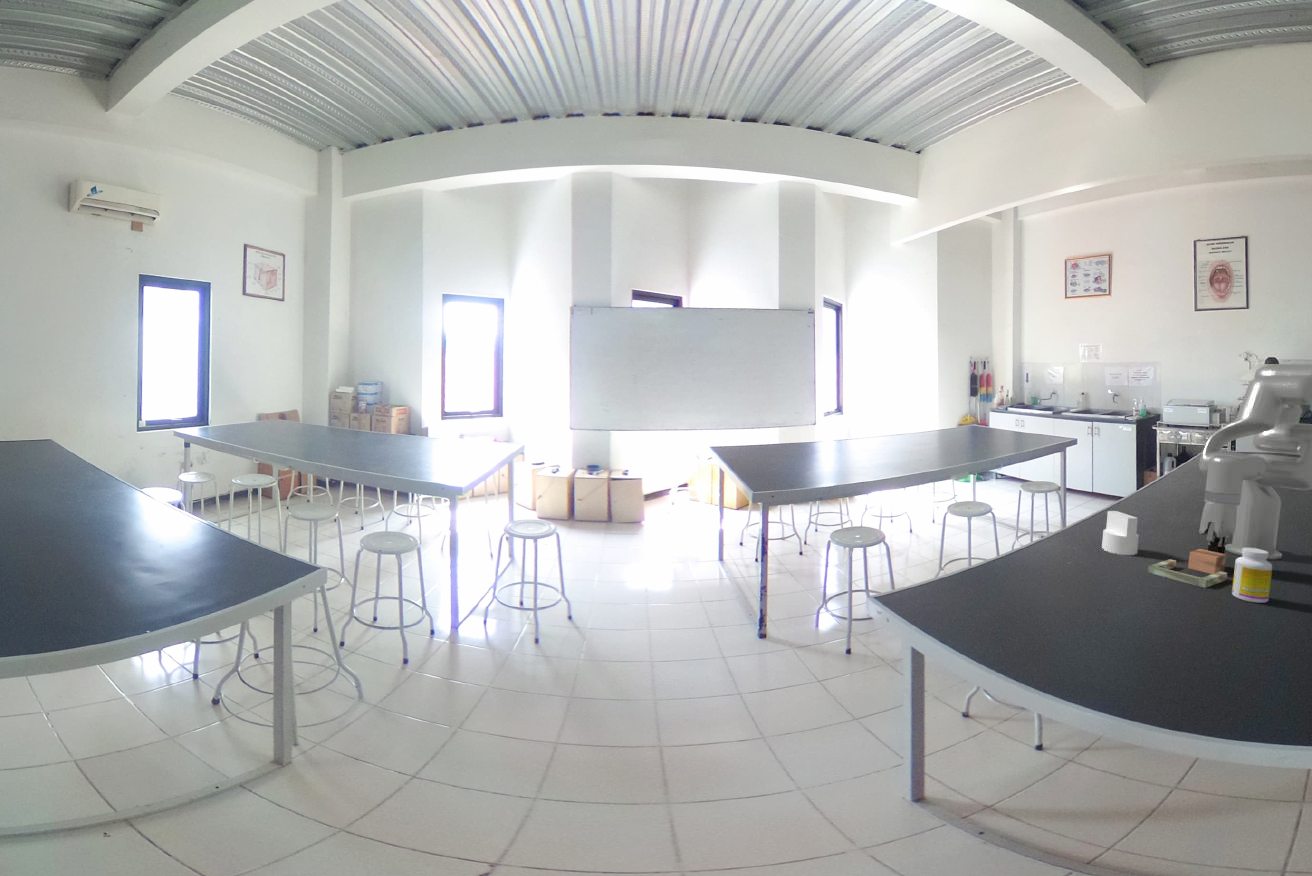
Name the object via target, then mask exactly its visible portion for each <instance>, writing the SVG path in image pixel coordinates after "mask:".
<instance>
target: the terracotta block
mask: <svg viewBox="0 0 1312 876" xmlns="http://www.w3.org/2000/svg"><path fill="white" fill-rule="evenodd" d="M1188 557H1189V558H1188V569H1191V570H1195V571H1199V572H1203V573H1207V574H1209V575H1212V574H1214V573H1217V572H1220V571H1221V572H1225V571H1226V570H1225V569H1226V560H1227V554H1226V553H1224V554H1221V553H1217V552H1212V551H1208V549H1203V548H1202V549H1201V548H1198V549H1194V550H1191V551H1189V556H1188Z"/></svg>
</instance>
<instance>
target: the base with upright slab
mask: <svg viewBox="0 0 1312 876" xmlns="http://www.w3.org/2000/svg"><path fill="white" fill-rule="evenodd" d="M1106 517H1107V518H1106V527H1105V529H1103V530H1102V541H1101V549H1102V548H1103V549H1104V550H1103V549H1102V550H1103V551H1106V552H1107V551H1108V553H1110V554H1111V553H1112V554H1115V553H1116V554H1115V555H1121V556H1123V555H1124V556H1135V554H1136V555H1137V554H1138V548H1139V547H1138V546H1139V537H1140V536H1139V535H1140V534H1139V533H1137V532H1138V531H1137V529H1138V519H1139V518H1138V517H1136V516H1133V515H1131V514H1130V515H1129V514H1127V513H1125V512H1121V511H1117V510H1107V515H1106Z"/></svg>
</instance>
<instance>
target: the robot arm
mask: <svg viewBox="0 0 1312 876" xmlns="http://www.w3.org/2000/svg"><path fill="white" fill-rule="evenodd" d="M1245 391H1246V392H1245V394H1244V396H1243V399H1242V402H1241V405H1240V406H1239V409H1238V411H1237V414H1236V417H1235V418H1234V420H1233V421H1231V422H1229V423H1227V424H1226V425H1223V426H1222V427H1220V428H1219V429H1218V430H1216V431H1215V432H1214V433H1212V434H1211V435H1210V436H1209V437H1208V439H1207V440H1206V442H1205V443H1204V446H1203V449H1202V451H1201V454H1200V457H1199V463H1198V466H1199V470H1200V471H1201V473H1203V474H1205V475H1206V482H1205V490H1204V491H1205V493H1204V500H1203V501H1204V502H1205V503H1204V507H1203V509H1202V514H1201V517H1200V518H1201V520H1200V526H1199V530H1198V532H1199V534H1200V535H1203V536H1204V535H1207V536H1206V539H1205V540H1206V541H1208V542H1207V543H1208V548H1207V550H1208V551H1212V552H1217V553H1221V554H1226V552H1225V551H1227V552H1228V553H1231V554H1235V555H1237V556H1240V557H1242V556H1243V554H1242V548H1256V549H1261V550H1264V551H1267V552H1268V557H1267V558H1266V560H1279V559H1282V558H1283V553H1281V552H1280V551H1278V550H1276V547H1277V546H1276V545H1277V539H1278V532H1279V531H1278V530H1279V524H1280V523H1279V522H1280V515H1281V507H1282V506H1281V505H1282V501H1281V497H1280V495H1279V494H1278V492H1277V491H1276V490H1275V489H1274V488H1284V489H1289V490H1290V489H1291V490H1299V491H1310V490H1312V423H1301V422H1300V421H1301V420H1300V419H1301V416H1302V414H1303V409H1302V407H1301V406H1302V405H1303V406H1308V405H1312V364H1308V363H1307V364H1298V363H1297V364H1296V363H1295V364H1294V363H1293V364H1291V363H1290V364H1271V365H1264V366H1261V367H1259V368H1258V369H1257V370H1256V371H1255V374H1254V379H1252V380H1251V381H1250V382H1249V384H1248V386H1247V388H1246V390H1245ZM1252 435H1253V437H1252V445H1253V447H1254V448H1255V449H1257V450H1258V451H1262V452H1267V453H1275V454H1267V453H1266V454H1265V453H1248V454H1246V453H1239V452H1238V453H1236V452H1229V451H1228V452H1226V451H1221V450H1222V449H1223V447H1225V446H1226V445H1227V444H1229V443H1231V442H1232V441H1235V440H1238V439H1242V438H1245V437H1248V436H1252ZM1277 454H1285V455H1296V456H1299V457H1296V456H1285V455H1277ZM1231 535H1232V540H1231V543H1228V544H1227V541H1228V538H1229V536H1231Z"/></svg>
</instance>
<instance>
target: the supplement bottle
mask: <svg viewBox="0 0 1312 876" xmlns="http://www.w3.org/2000/svg"><path fill="white" fill-rule="evenodd" d="M1242 554H1243V556H1240V557H1239V556H1238V557H1236V559H1235V561H1234V562H1235V563H1234V573H1233V580H1232V586H1231V587H1232V588H1231V594H1232V596H1233V597H1235V598H1237V599H1239V600H1242V601H1246V602H1250V603H1258V604H1259V603H1263V604H1264V603H1267V602H1268V601H1269V597H1270V590H1271V581H1272V574H1273V564H1272V563H1271V562H1269V561H1268V560H1267V559H1266V558H1267V557H1268V552H1267V551H1264V550H1261V549H1256V548H1242Z"/></svg>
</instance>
